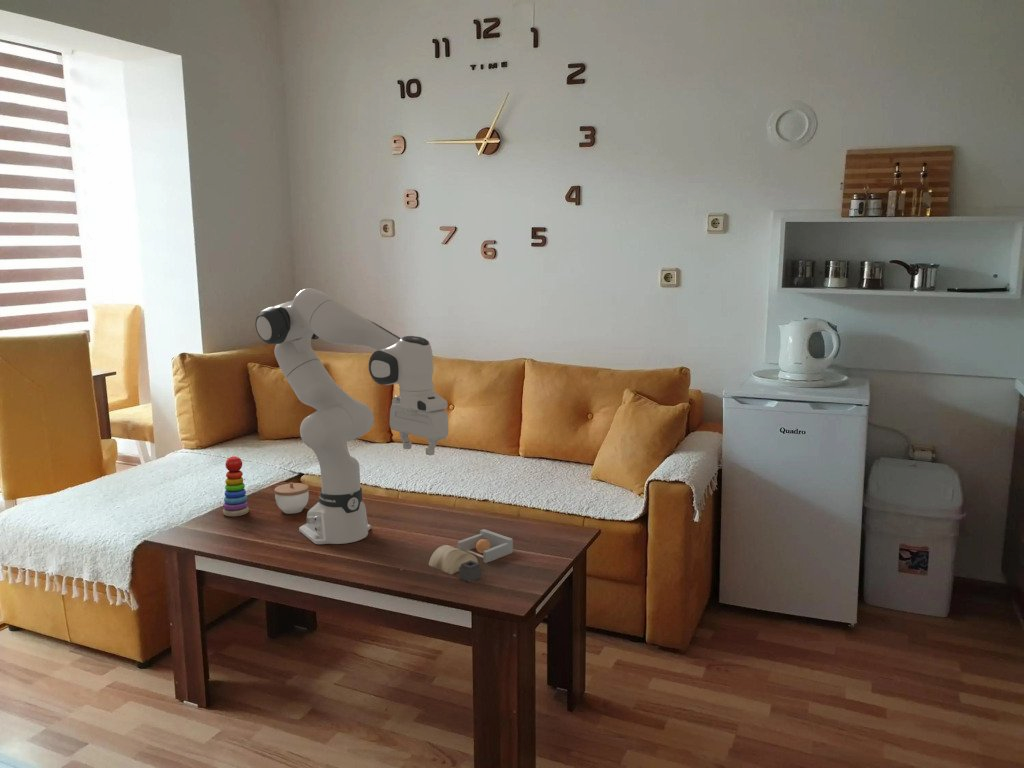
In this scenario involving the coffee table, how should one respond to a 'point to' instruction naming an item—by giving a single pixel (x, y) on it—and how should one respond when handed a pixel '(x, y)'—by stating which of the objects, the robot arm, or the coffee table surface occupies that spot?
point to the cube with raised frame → (470, 571)
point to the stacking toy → (234, 489)
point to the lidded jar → (292, 497)
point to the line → (474, 553)
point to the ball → (482, 545)
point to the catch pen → (497, 543)
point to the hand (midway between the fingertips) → (418, 451)
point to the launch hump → (450, 559)
